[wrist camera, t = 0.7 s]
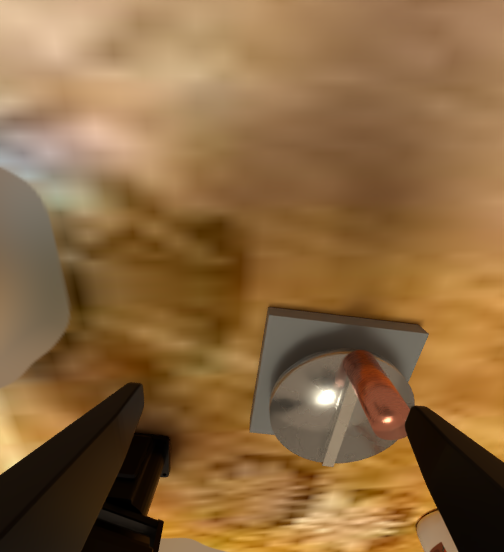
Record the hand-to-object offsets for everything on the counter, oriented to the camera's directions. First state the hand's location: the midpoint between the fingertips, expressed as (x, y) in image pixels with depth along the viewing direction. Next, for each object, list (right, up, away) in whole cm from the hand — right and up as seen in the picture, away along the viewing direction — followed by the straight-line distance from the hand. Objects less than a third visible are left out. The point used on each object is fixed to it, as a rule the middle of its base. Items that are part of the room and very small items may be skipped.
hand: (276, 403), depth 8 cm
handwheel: (+7, -6, +15) cm, 18 cm away
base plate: (+7, -6, +17) cm, 19 cm away
